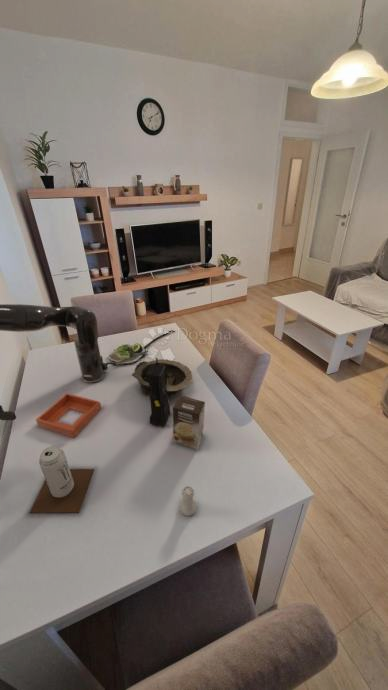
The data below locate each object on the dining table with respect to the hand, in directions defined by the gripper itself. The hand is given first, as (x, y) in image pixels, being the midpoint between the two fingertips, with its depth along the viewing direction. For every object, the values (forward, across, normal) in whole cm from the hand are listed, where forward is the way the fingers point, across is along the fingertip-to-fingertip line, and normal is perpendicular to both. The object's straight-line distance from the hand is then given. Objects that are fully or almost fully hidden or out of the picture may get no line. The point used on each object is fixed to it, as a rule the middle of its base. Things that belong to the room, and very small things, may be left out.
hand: (5, 428), depth 69 cm
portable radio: (+35, +25, +23) cm, 49 cm away
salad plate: (+14, +71, +23) cm, 76 cm away
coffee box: (+45, +16, +23) cm, 53 cm away
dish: (+2, +27, +23) cm, 35 cm away
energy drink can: (+10, -2, +22) cm, 25 cm away
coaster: (+10, -2, +23) cm, 25 cm away
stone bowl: (+35, +46, +23) cm, 62 cm away
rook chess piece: (+45, -7, +23) cm, 51 cm away
